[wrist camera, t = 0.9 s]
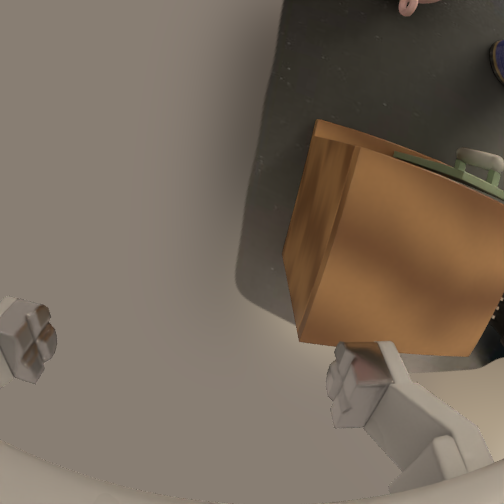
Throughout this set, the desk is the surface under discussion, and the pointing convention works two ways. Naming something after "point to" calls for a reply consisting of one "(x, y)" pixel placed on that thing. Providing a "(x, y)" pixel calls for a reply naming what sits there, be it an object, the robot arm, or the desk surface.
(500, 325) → the battery charger
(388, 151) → the cupboard
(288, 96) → the desk surface
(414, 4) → the mug
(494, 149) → the desk surface
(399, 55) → the desk surface
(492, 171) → the sliding door
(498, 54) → the pill bottle
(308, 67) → the desk surface
